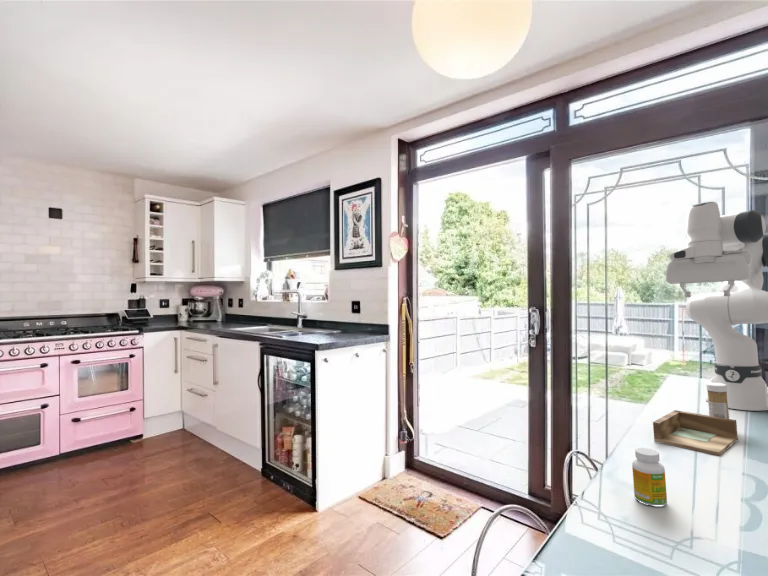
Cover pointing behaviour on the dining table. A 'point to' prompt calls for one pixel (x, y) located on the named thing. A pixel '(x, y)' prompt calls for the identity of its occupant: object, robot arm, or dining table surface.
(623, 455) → the dining table surface
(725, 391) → the sprinkles bottle
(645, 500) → the supplement bottle
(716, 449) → the corner arena
